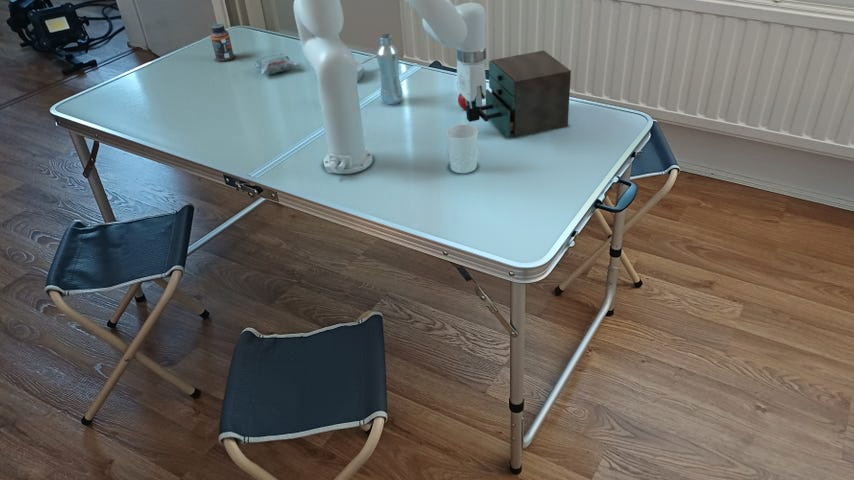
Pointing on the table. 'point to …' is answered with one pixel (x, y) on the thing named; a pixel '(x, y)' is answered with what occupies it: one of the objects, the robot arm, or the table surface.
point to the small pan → (360, 66)
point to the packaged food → (274, 64)
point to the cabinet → (532, 91)
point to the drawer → (498, 113)
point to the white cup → (462, 147)
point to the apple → (462, 102)
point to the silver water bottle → (389, 70)
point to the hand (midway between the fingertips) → (473, 119)
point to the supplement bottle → (221, 43)
